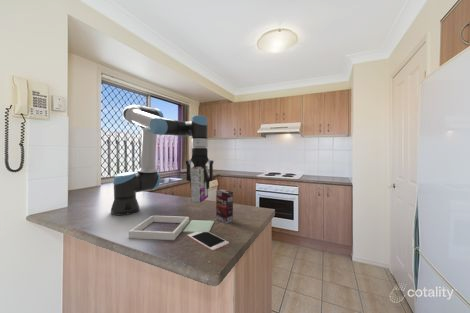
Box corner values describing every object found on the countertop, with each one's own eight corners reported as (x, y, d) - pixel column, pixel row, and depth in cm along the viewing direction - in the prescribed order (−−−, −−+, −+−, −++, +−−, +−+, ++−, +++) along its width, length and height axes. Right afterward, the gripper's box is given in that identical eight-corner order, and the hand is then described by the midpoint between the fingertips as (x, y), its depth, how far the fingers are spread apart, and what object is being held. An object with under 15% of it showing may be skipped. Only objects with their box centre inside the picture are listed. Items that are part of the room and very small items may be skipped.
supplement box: (215, 219, 108) (215, 190, 107) (222, 217, 111) (222, 189, 111) (226, 223, 102) (227, 193, 101) (233, 221, 105) (233, 191, 105)
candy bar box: (199, 196, 103) (199, 165, 102) (208, 197, 102) (208, 165, 101) (190, 202, 92) (190, 167, 91) (200, 203, 91) (200, 167, 90)
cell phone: (203, 231, 93) (203, 229, 93) (229, 244, 81) (229, 242, 81) (187, 236, 87) (187, 234, 87) (212, 252, 74) (212, 249, 74)
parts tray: (128, 238, 85) (128, 231, 85) (151, 221, 105) (151, 215, 104) (174, 240, 83) (174, 233, 83) (188, 222, 103) (188, 216, 103)
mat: (182, 232, 91) (182, 230, 91) (191, 221, 105) (191, 220, 105) (208, 233, 90) (208, 232, 90) (214, 221, 104) (214, 220, 104)
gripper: (178, 147, 93) (179, 196, 94) (217, 147, 91) (217, 197, 92) (183, 147, 100) (184, 193, 101) (219, 147, 99) (219, 193, 100)
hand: (199, 195), depth 97 cm, fingers closed on candy bar box, 5 cm apart
